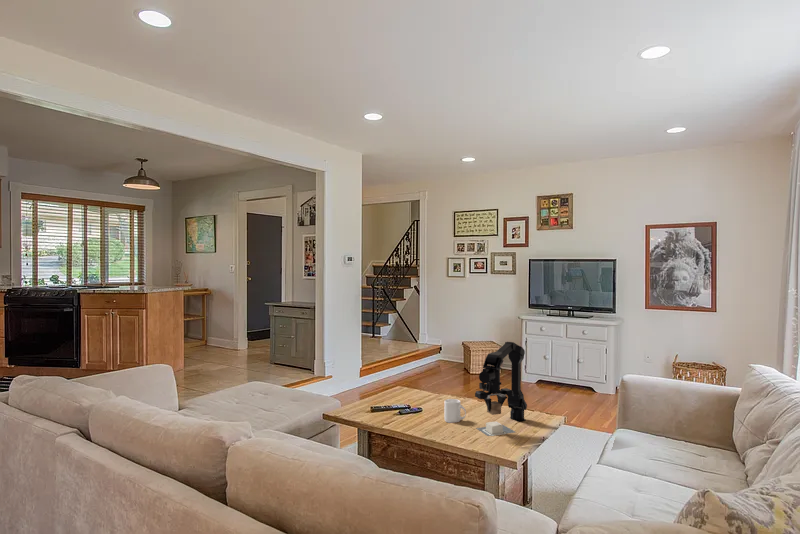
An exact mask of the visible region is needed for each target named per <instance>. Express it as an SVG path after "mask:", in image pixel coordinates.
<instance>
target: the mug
mask: <svg viewBox="0 0 800 534" xmlns="http://www.w3.org/2000/svg"><path fill="white" fill-rule="evenodd" d="M443 401H444V402H443V403H444V408H443V412H444V413H443V414H444V416H443V419H444V421H445V422H446V423H449V424H453V423H460V422H461V421H462V420H464V419H465V418H466V414H467V411H466V408H465V407H464V406H463V405H462V404H461V400H459V399H457V398H447V399H445V400H443ZM461 409H462V410H463V411H464V415H463V416H462V415H461Z"/></svg>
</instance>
